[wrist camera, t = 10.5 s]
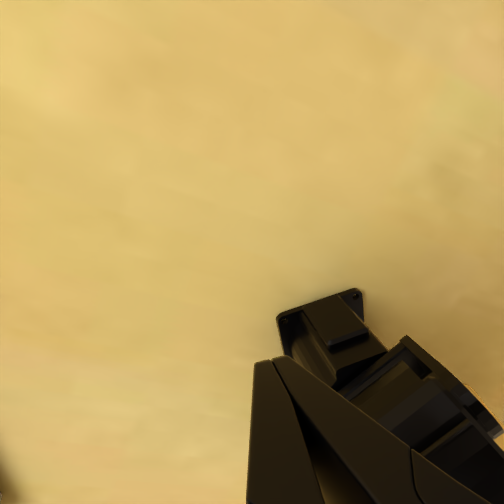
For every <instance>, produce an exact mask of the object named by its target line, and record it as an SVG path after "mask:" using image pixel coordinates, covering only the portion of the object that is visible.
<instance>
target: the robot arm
mask: <svg viewBox="0 0 504 504" xmlns="http://www.w3.org/2000/svg"><path fill="white" fill-rule="evenodd" d="M355 294H356V295H355ZM354 295H355V296H354ZM353 296H354V297H353ZM285 318H286V319H285ZM283 319H285V320H284V321H282V320H283ZM276 323H277V327H278V332H279V336H280V341H281V345H282V350H283V354H284V356H280V357H276V358H273V359H272V360H269V359H268V360H263V361H259V362H256V363H255V364H254V374H253V390H252V407H251V424H250V440H249V457H248V473H247V490H246V504H504V451H503V450H502V449H501V448H500V447H499V446H498V445H497V443H496V442H495V441H494V439H496V438H497V437H499V436H500V435H502V434H503V433H504V430H503V428H502V427H501V425H500V424H499V423H498V422H497V420H496V419H495V418H494V417H493V416H492V414H491V413H490V412H489V411H488V410H487V409H486V408H485V407H484V406H483V404H482V403H481V402H480V401H479V400H478V399H477V398H476V397H475V396H474V395H473V394H472V393H471V392H470V391H469V390H468V389H467V388H466V387H465V386H464V385H463V384H462V383H461V382H460V381H459V380H458V379H457V378H456V377H455V376H454V375H453V374H452V373H450V372H449V371H448V370H447V369H446V368H445V367H444V366H442V365H441V364H440V363H439V362H438V361H437V360H435V359H434V358H433V357H432V356H431V355H430V354H428V353H427V352H426V351H425V350H424V349H423V348H421V347H420V346H419V345H418V344H417V343H416V342H414V341H413V340H412V339H411V338H410V337H408V336H407V335H406V336H404V337H403V338H402V339H401V340H399V341H400V342H399V343H398V344H397V345H396V346H394V347H393V348H392V349H391V350H389V351H388V350H387V348H386V347H385V346H384V345H383V344H382V343H381V342H380V341H379V340H378V338H377V337H376V336H375V335H374V334H373V333H372V332H371V331H370V330H369V328H368V327H367V326H366V324H365V323H364V314H363V299H362V293H361V292H360V291H359V290H358V289H357V288H353V289H350V290H347V291H344V292H341V293H338V294H335V295H332V296H329V297H326V298H323V299H320V300H317V301H314V302H311V303H309V304H306V305H303V306H300V307H297V308H294V309H291V310H288V311H285V312H282V313H280V314H279V315H278V316H277V317H276Z"/></svg>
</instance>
